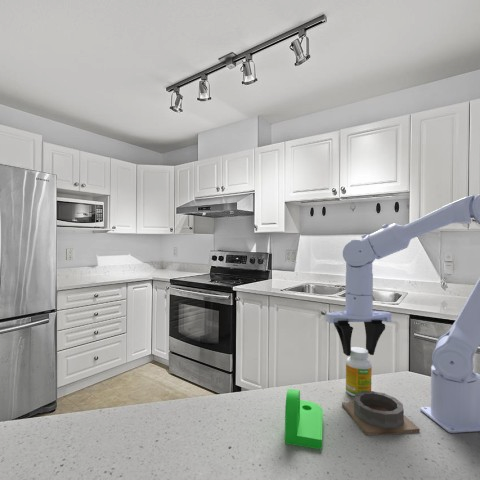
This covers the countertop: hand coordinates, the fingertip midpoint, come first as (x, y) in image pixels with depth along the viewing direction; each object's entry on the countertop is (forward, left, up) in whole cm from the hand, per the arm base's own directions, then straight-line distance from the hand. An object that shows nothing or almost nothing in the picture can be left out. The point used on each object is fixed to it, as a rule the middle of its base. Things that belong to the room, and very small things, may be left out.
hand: (358, 353), depth 71 cm
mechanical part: (+16, +11, -9) cm, 22 cm away
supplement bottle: (0, 0, -9) cm, 9 cm away
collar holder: (+1, +10, -9) cm, 13 cm away
